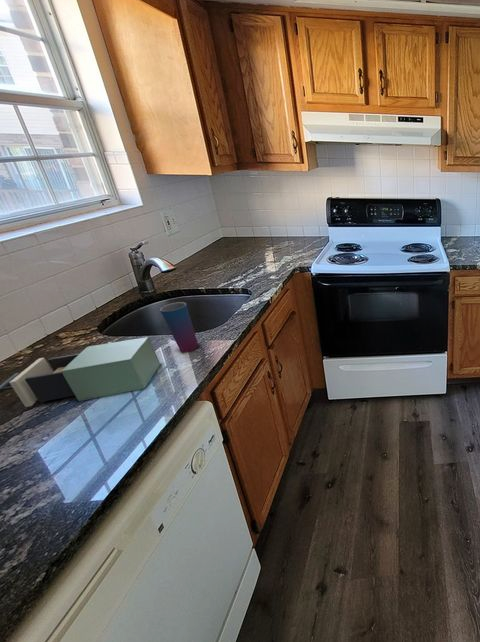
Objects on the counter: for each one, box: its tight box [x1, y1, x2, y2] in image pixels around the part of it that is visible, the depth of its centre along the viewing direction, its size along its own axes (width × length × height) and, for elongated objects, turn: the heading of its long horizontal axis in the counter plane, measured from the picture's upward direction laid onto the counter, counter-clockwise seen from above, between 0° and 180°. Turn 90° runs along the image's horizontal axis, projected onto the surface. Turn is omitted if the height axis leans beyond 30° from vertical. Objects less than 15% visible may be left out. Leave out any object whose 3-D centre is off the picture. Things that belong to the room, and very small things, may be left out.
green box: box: [61, 336, 161, 402], centre depth 101 cm, size 15×13×10 cm
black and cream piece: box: [0, 353, 80, 408], centre depth 97 cm, size 19×11×8 cm, turn 109°
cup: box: [159, 301, 199, 353], centre depth 116 cm, size 7×7×15 cm
